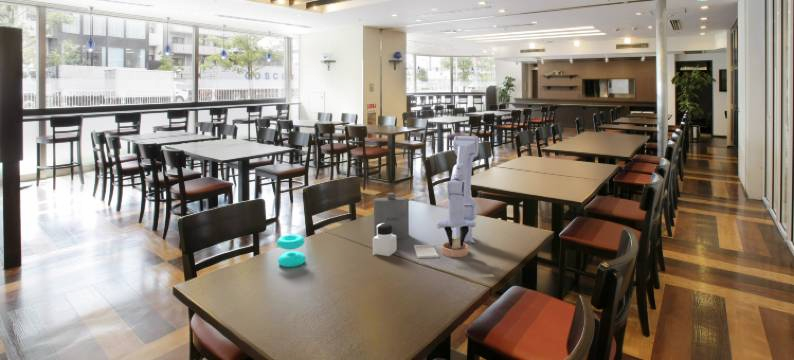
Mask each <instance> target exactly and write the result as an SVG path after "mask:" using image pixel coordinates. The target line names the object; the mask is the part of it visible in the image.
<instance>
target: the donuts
mask: <svg viewBox="0 0 794 360" xmlns="http://www.w3.org/2000/svg"><path fill="white" fill-rule="evenodd" d="M305 241H306V240H305V238H304V237H303V236H302V235H300V234H297V233H296V234H285V235H283V236H280V237H279V238H278V239H277V241H276V245H277V246H278V248H280V249H283V250H289V251H286V252H284V253H282V254H281V255H280V256H278V259H277V261H278V264H279V265H280V266H281V267H285V268H294V267H298V266H301V265H303V264H305V262H306V258H307V257H306V255H305V254H304V253H303V252H300V251H295V250H296V249H299V248H301V247H302V246H304V244H305ZM290 250H294V251H290Z"/></svg>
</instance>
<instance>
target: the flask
mask: <svg viewBox="0 0 794 360" xmlns="http://www.w3.org/2000/svg"><path fill="white" fill-rule="evenodd" d="M386 196H387V197H377V198H374V199H373V229H374V230H373V231H374V232H373V233H374V235H373V238H374V237H375V236H377V225H378V224H381V223H388V224H391V225H392V235H396V240H397V239H405V238H408V237H409V235H410V233H409V232H410V227H409V226H410V225H409V224H410V223H409V221H410V219H409V217H410V215H409V212H410V211H409V209H410V208H409V198H408V197H406V196H398V197H397V196H396V193H395V192H388V193H387V195H386Z"/></svg>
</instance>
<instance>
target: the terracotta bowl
mask: <svg viewBox="0 0 794 360" xmlns="http://www.w3.org/2000/svg"><path fill="white" fill-rule="evenodd" d="M440 246H441V248H440V251H441V253H442V255H444V256H446V257H451V258H462V257H465V256H467V255H468V253H469V245H468V244H467V243H465V242H464V243H463V246H461V248H459V249H458V250H452V249H449V241H445V242H443V243H442V244H441V245H440Z"/></svg>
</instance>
